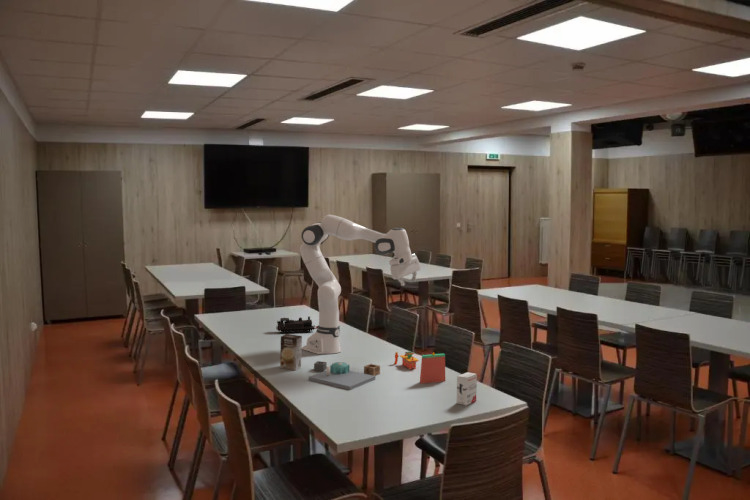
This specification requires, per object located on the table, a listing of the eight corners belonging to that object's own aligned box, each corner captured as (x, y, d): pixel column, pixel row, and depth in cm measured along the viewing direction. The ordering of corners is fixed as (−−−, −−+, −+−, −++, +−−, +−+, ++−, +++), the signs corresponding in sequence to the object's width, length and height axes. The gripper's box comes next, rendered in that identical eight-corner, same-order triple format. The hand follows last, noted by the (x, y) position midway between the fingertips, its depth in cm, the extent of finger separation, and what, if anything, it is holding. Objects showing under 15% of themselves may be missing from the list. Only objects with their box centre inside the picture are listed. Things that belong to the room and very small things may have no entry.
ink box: (466, 398, 252) (467, 371, 251) (476, 401, 249) (477, 373, 248) (455, 403, 246) (456, 375, 245) (465, 406, 243) (467, 377, 242)
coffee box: (279, 368, 291) (279, 336, 290) (285, 365, 297) (285, 333, 296) (296, 370, 288) (296, 338, 287) (301, 367, 294) (302, 335, 293)
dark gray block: (314, 370, 288) (314, 363, 288) (317, 368, 293) (317, 361, 292) (323, 371, 287) (323, 364, 286) (326, 369, 291) (326, 362, 291)
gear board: (308, 379, 273) (308, 368, 273) (335, 370, 290) (335, 359, 289) (350, 389, 260) (350, 377, 259) (375, 379, 277) (375, 367, 276)
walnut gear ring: (362, 374, 283) (363, 366, 283) (371, 371, 289) (371, 363, 289) (372, 376, 280) (372, 368, 280) (380, 373, 286) (381, 365, 286)
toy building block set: (421, 383, 272) (422, 353, 271) (391, 364, 304) (392, 337, 303) (445, 381, 277) (446, 351, 275) (413, 362, 309) (413, 335, 308)
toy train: (316, 333, 372) (316, 317, 371) (276, 334, 365) (277, 318, 364) (314, 330, 379) (314, 315, 378) (275, 331, 372) (275, 316, 372)
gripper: (411, 253, 318) (416, 278, 320) (386, 262, 303) (392, 288, 305) (420, 252, 314) (425, 277, 315) (395, 262, 299) (401, 288, 301)
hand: (408, 283), depth 310 cm, fingers open, 8 cm apart
